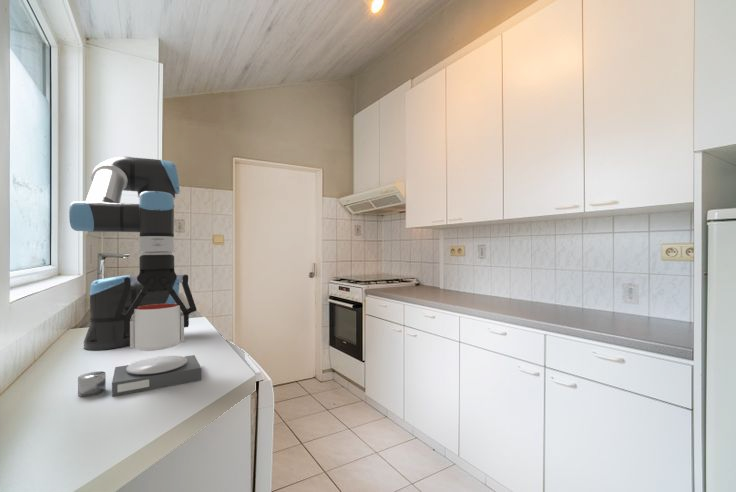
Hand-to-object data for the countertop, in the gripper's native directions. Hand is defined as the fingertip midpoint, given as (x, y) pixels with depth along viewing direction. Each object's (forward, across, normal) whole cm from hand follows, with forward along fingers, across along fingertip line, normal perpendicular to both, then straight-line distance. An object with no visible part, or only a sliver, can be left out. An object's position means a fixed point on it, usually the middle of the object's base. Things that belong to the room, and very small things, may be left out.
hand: (157, 343), depth 90 cm
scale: (+9, 0, 0) cm, 9 cm away
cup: (+1, 0, 0) cm, 1 cm away
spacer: (+9, -13, -1) cm, 16 cm away
